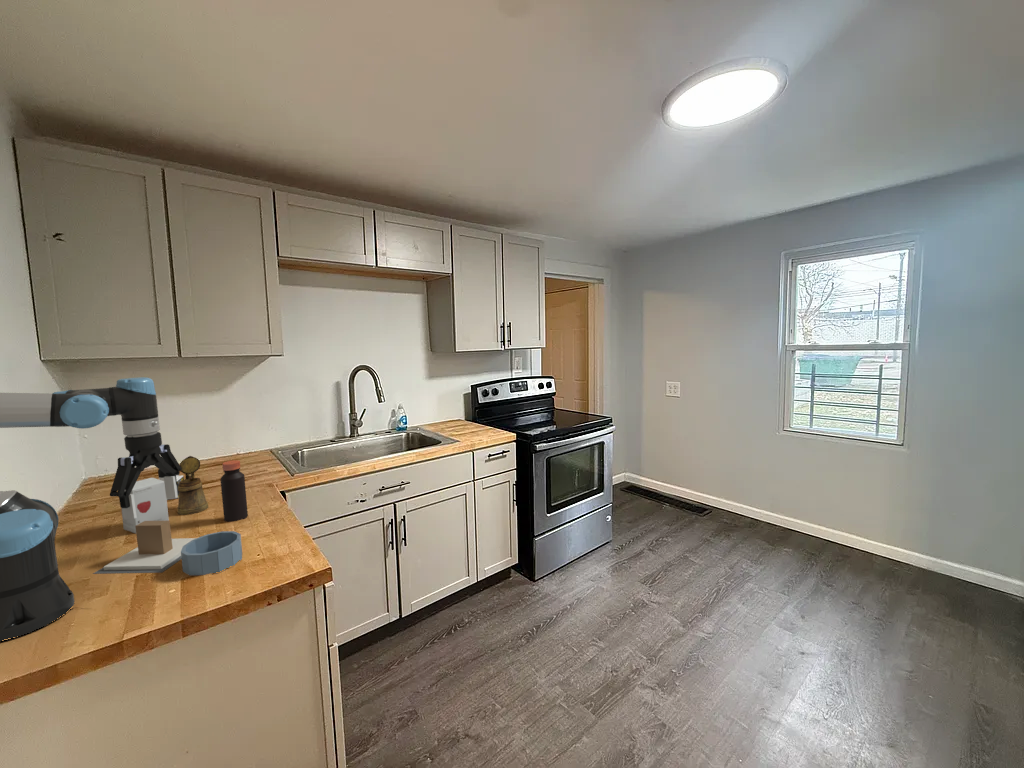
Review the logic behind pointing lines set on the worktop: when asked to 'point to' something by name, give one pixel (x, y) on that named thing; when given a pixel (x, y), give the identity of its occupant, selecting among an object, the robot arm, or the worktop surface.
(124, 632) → the worktop surface
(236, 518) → the vinegar
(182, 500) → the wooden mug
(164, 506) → the supplement box
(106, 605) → the worktop surface
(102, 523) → the worktop surface
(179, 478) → the medicine bottle
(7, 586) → the robot arm
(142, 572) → the mat
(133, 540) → the worktop surface
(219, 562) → the bowl
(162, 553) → the lid
